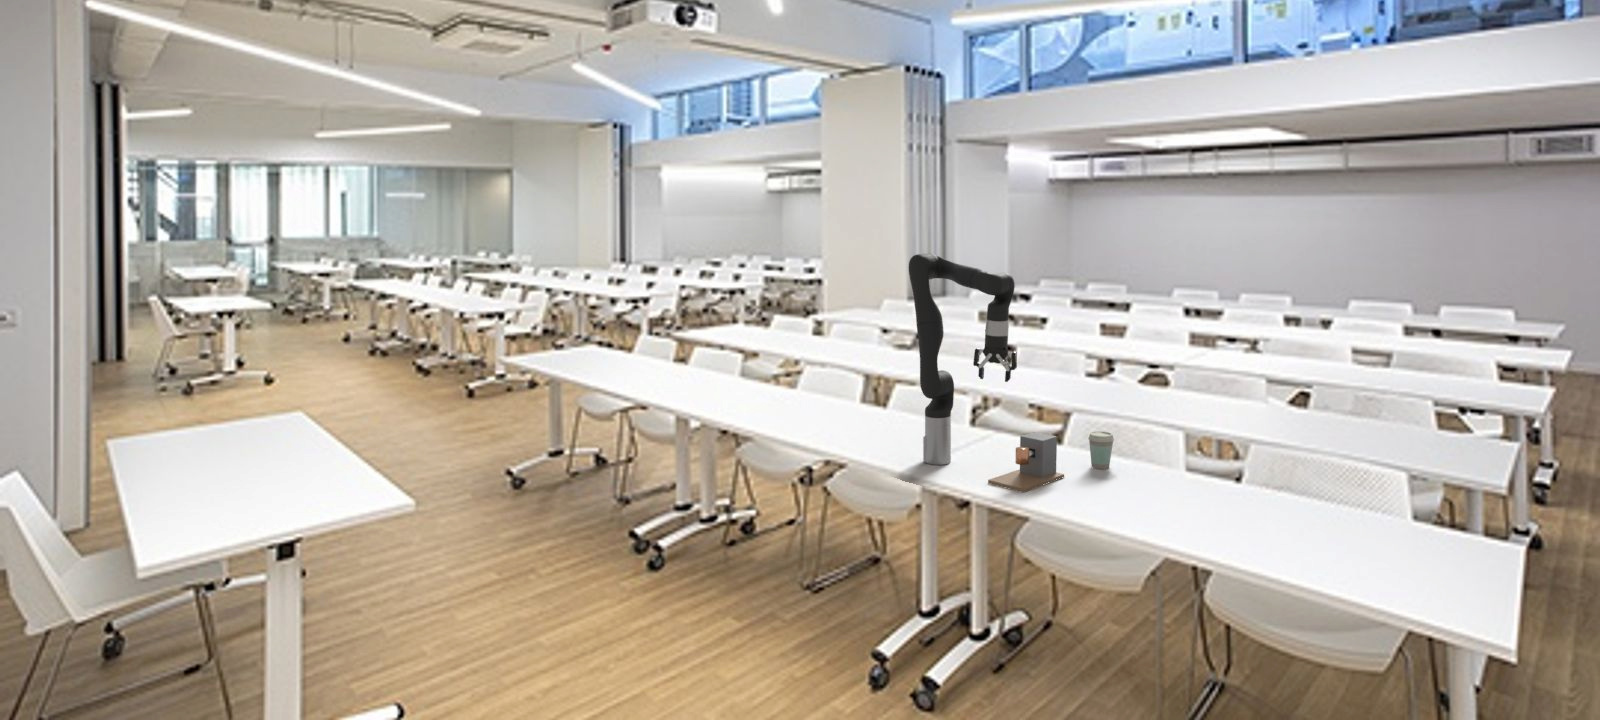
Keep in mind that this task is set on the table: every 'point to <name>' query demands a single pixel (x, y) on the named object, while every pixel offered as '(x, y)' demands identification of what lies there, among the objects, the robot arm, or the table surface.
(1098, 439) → the coffee cup
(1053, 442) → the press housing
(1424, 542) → the table surface
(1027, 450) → the plunger
